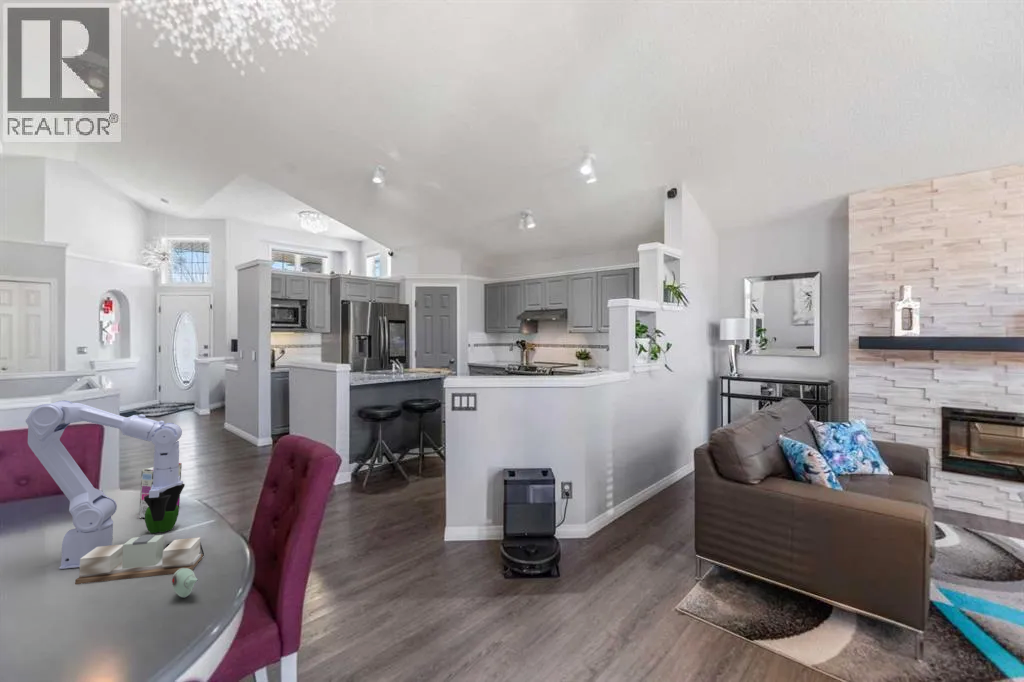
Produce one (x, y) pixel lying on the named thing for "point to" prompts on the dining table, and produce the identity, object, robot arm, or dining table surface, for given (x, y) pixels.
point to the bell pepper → (162, 525)
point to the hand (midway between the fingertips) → (164, 515)
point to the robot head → (183, 581)
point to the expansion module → (143, 551)
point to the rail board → (108, 566)
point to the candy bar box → (149, 488)
